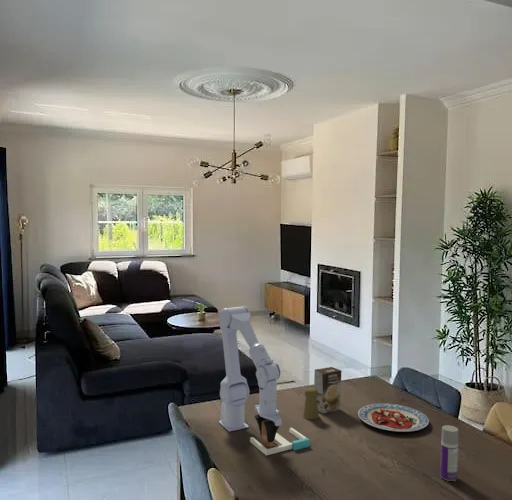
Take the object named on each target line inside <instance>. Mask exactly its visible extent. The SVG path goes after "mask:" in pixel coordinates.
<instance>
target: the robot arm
mask: <svg viewBox="0 0 512 500" xmlns="http://www.w3.org/2000/svg"><path fill="white" fill-rule="evenodd" d="M251 315H252V314H251V313H250V309H249V308H248V307H247V306H246V305H241V306H234V307H223V308H222V309H221V311H220V312H219V314H218V319H219V328H220V329H219V330H220V331H221V335H222V338H221V339H222V347H223V356H224V365H225V366H224V367H225V374H226V375H225V377H224V378H222V379H223V380H221V382H220V383H219V384H220V388H219V389H220V390H219V397H220V400H221V401H222V403H221V404H220V405H221V406H220V420H219V421H218V423H219V424H220V425H221V426H222V427H223V428H225V429H226V431H228V432H233V431H239V430H243V429H247V428H248V429H249V425H248V424H247V423H245V402H247V399H248V398H249V397H250V387H249V385H248V381H247V378H246V377H244V376H243V375H242V373H241V364H240V356H239V348H238V346H239V345H238V337H237V332H238V331H239V332H240V333H241V336H242V337H243V338H244V340H245V342H246V344H247V345H248V347H249V350H248V354H249V356H250V359H251V360H252V362H253V364H254V365H255V366H254V367H255V368H256V371H255V376H256V380H257V385H258V387H259V395H258V396H259V399H258V400H259V401H258V402H259V403H258V404H256V405H254V411H255V412H257V414H255V415H254V418H255V420H256V422H257V423H256V424H257V425H258V428H259V429H258V430H259V433H260V437H261V438H262V421H263V420H269V421H267V422H264V425H265V428H266V432H267V440H268V442H269V443H270V442H273V443H274V439H275V436H276V433H278V430H279V427H280V426H282V422H283V421H282V419H281V417H280V416H279V413H280V410H278V409H277V394H278V393H277V386H278V385H277V384H278V383H277V382H278V381H277V380H279V378H280V377H281V367H280V366H279V364H278V363H277V362H275V360H274V359H271V357H270V354H269V353H268V351H267V349H266V347H265V345H264V344H262V343H260V342H259V339H258V338H257V335H256V333H255V330H254V328H253V326H252V323H251V320H252V316H251Z"/></svg>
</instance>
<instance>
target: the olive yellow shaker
mask: <svg viewBox="0 0 512 500" xmlns="http://www.w3.org/2000/svg"><path fill="white" fill-rule="evenodd" d="M304 396H305V402H304V408H303V415H302V417H303V418H304V419H306V420H310V421H311V420H312V421H314V420H317V419H318V420H319V418H320V417H319V411H318V406H317V396H318V391H317V389H315V388H314V387H307V388H305V389H304Z"/></svg>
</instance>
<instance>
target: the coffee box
mask: <svg viewBox="0 0 512 500" xmlns="http://www.w3.org/2000/svg"><path fill="white" fill-rule="evenodd" d="M313 379H314V383H313V385H314V386H313V388H315V389H317V391H318V396H317V406H318V413H321V414H326V413H330V412H331V413H332V412H335V411H340V410H341V403H342V402H341V400H342V399H341V395H342V370H341V369H339V368H335V367H333V366H330V367H323V368H317V369H314V378H313Z"/></svg>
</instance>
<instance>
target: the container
mask: <svg viewBox="0 0 512 500" xmlns="http://www.w3.org/2000/svg"><path fill="white" fill-rule="evenodd" d="M440 439H441V442H440V444H441V445H440V465H439V466H440V467H439V472H440V473H439V477H440V476H441V477H440V479H441V478H443V479H445V480H449V481H453V480H456V479H457V480H458V464H459V462H458V460H459V459H458V458H459V428H458V427H456V426H453V425H449V424H448V425H447V424H445V425H443V426H441V437H440ZM443 479H442V480H443ZM445 480H444V481H445Z"/></svg>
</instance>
